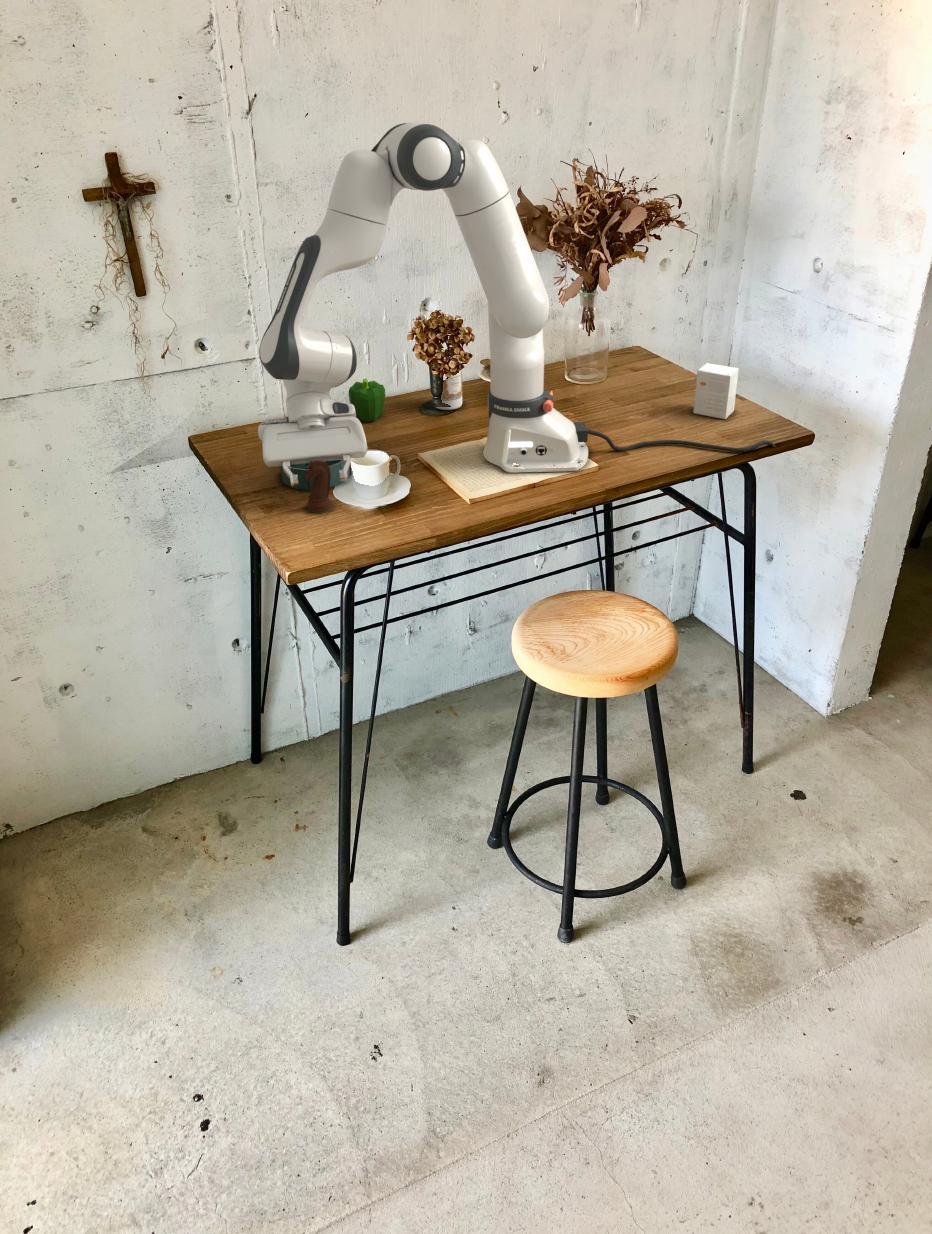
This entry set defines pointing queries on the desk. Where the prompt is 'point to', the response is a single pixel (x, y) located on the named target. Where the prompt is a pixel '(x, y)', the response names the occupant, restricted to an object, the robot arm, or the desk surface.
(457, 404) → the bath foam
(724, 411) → the small box
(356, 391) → the bell pepper
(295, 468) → the cooking pot
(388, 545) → the desk surface
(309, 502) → the chess piece
